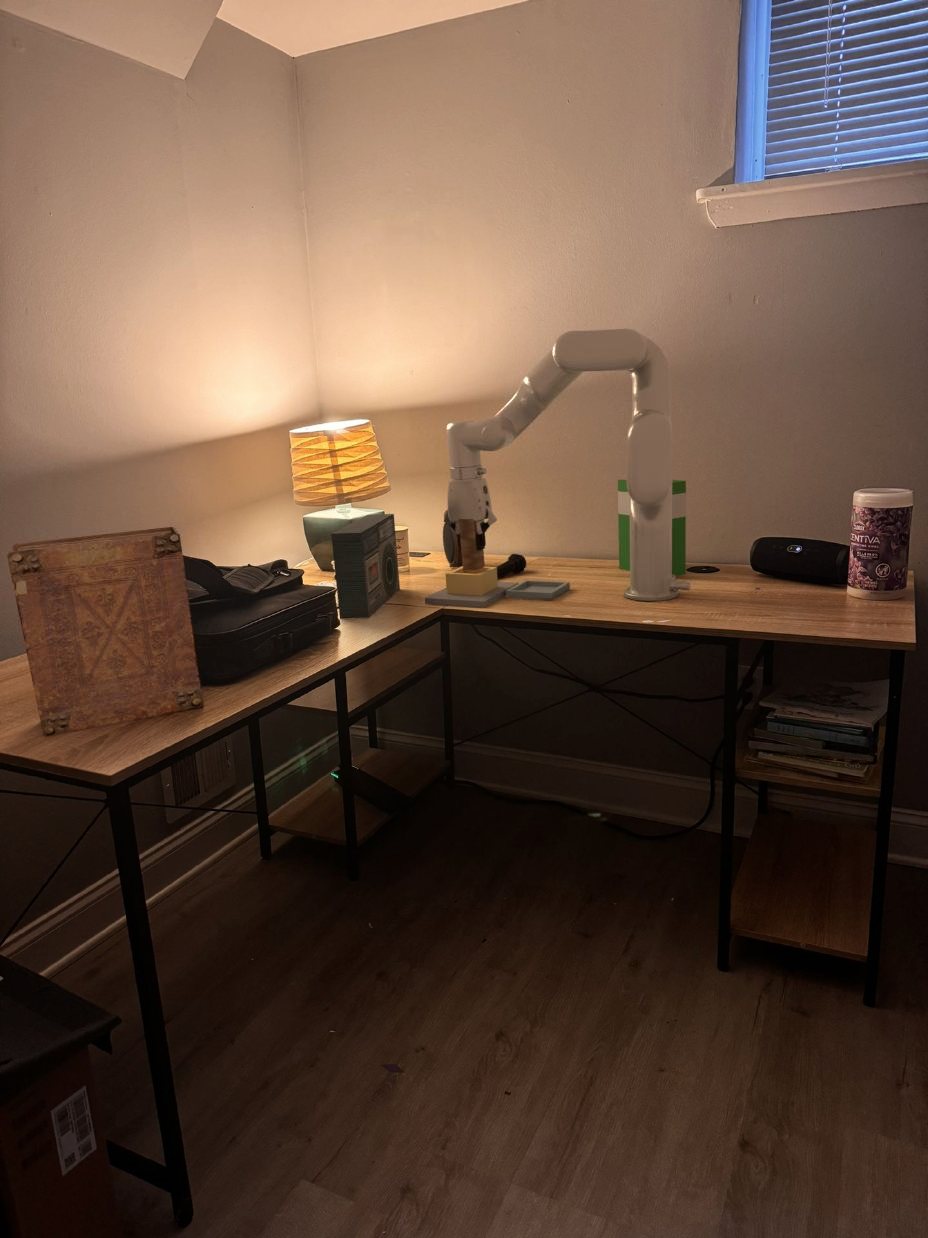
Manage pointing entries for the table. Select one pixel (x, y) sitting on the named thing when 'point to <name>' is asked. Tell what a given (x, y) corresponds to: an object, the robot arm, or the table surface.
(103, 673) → the book
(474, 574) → the yellow socket holder
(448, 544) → the alarm clock
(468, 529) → the rod
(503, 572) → the microphone
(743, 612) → the table surface
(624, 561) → the green white tall box
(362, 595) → the cassette player
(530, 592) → the tray
